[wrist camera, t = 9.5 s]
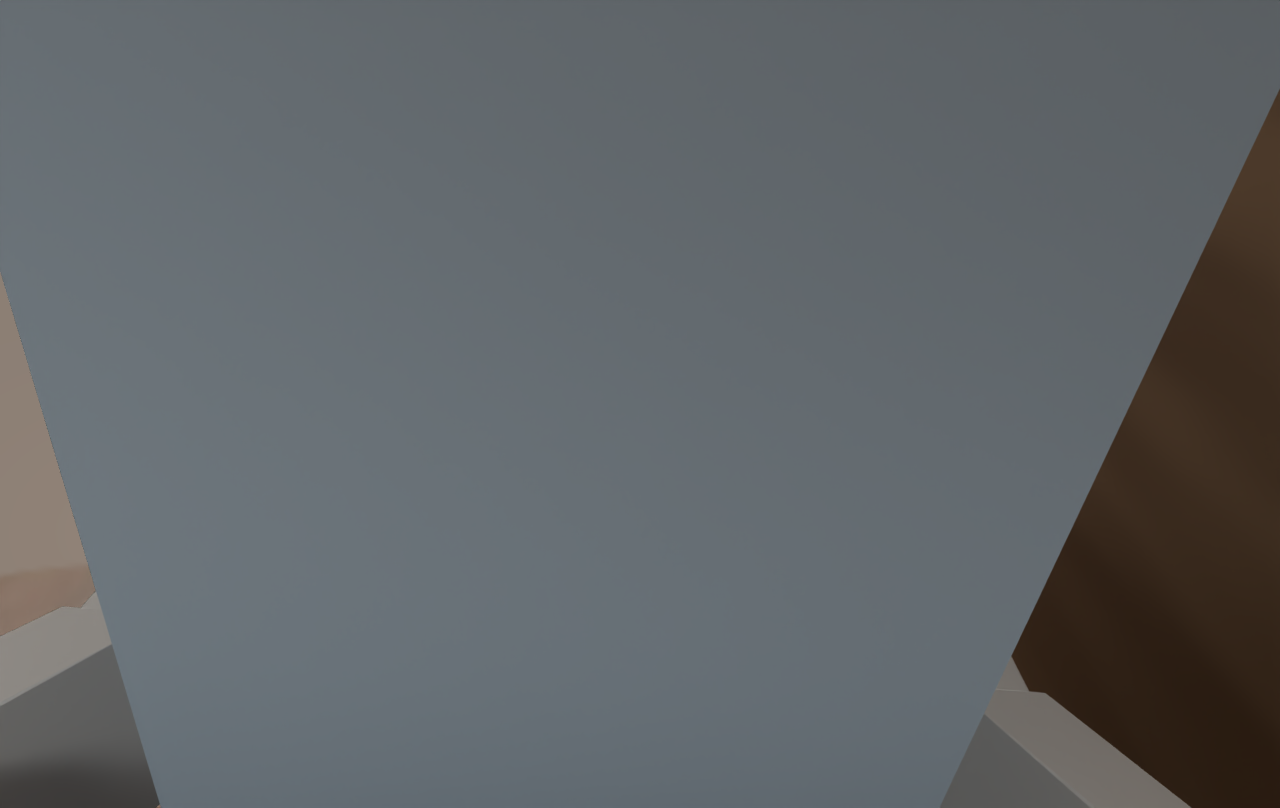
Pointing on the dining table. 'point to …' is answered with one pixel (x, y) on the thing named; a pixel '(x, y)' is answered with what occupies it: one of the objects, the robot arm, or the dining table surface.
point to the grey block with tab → (594, 369)
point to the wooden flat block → (1187, 534)
